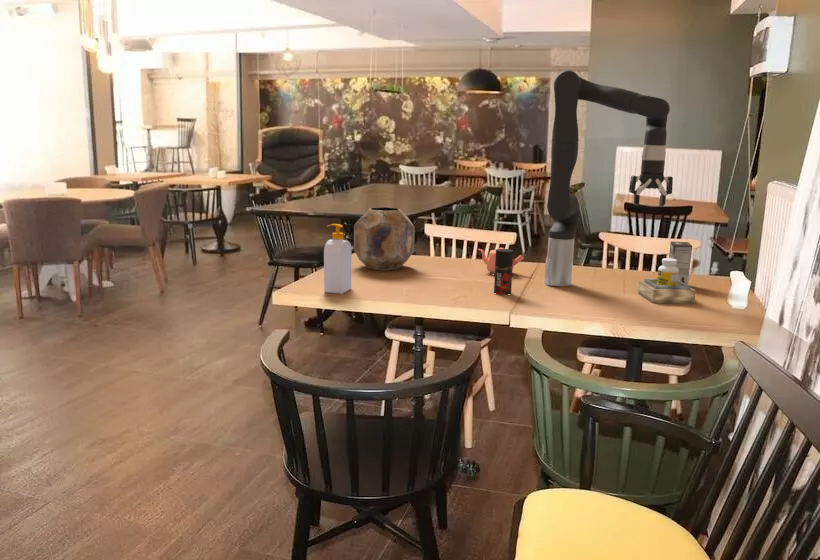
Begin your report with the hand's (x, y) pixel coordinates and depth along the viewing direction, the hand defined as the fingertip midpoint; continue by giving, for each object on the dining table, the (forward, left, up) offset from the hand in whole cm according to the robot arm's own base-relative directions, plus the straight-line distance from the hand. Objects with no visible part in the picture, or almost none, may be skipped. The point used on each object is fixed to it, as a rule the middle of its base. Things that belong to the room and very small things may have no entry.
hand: (649, 206), depth 237 cm
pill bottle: (+4, -12, -28) cm, 31 cm away
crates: (+4, -12, -30) cm, 33 cm away
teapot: (-47, +27, -30) cm, 62 cm away
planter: (-93, +35, -30) cm, 104 cm away
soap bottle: (-108, -8, -30) cm, 112 cm away
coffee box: (+16, +8, -30) cm, 35 cm away
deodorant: (-51, -8, -30) cm, 60 cm away
